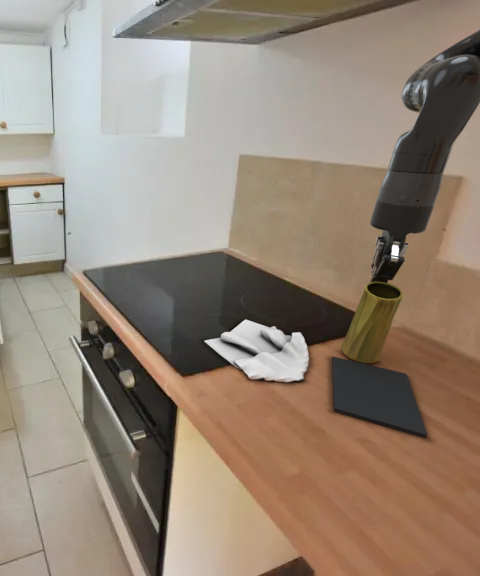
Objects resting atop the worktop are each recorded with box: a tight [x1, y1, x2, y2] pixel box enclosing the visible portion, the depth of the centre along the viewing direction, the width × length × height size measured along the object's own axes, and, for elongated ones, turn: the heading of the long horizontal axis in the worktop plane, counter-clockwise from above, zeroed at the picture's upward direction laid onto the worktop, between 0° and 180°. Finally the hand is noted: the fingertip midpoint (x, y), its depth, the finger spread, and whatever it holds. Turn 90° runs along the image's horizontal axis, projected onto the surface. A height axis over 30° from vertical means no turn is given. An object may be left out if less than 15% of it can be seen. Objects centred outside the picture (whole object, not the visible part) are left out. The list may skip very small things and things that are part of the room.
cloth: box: [203, 318, 310, 384], centre depth 73 cm, size 20×22×2 cm
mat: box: [331, 356, 428, 438], centre depth 61 cm, size 11×16×1 cm
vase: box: [341, 281, 404, 364], centre depth 67 cm, size 6×6×14 cm
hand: (373, 297), depth 68 cm, fingers closed
